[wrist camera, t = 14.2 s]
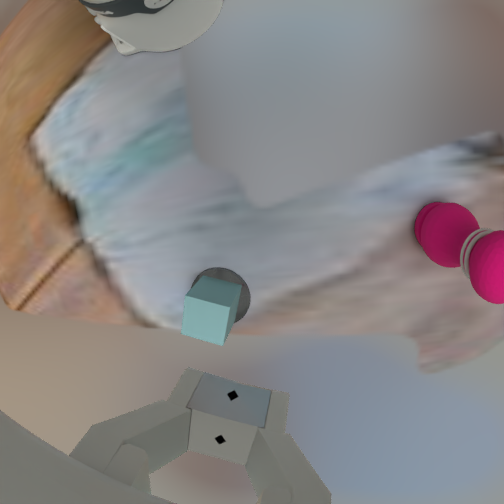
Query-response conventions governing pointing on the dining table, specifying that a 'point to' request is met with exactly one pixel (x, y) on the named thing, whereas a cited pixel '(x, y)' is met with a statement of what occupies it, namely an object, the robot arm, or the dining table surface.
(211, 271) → the grey round stand
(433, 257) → the pepper mill
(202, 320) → the teal rectangular block
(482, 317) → the dining table surface
